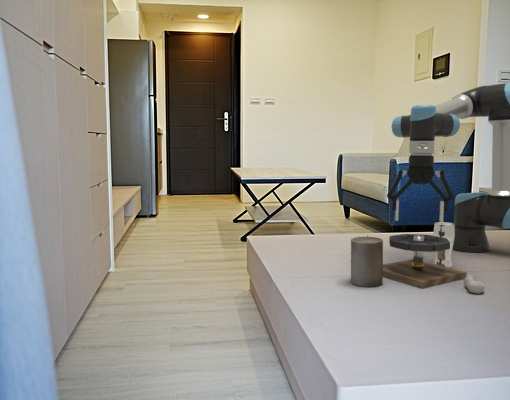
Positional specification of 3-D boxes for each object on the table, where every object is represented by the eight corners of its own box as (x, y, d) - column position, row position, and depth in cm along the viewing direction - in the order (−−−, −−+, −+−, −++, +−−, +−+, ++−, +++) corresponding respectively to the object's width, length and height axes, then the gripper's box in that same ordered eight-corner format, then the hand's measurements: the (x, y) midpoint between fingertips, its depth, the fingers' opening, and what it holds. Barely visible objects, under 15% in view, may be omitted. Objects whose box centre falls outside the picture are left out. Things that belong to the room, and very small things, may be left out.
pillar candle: (383, 279, 150) (384, 233, 148) (381, 288, 140) (381, 238, 139) (352, 277, 153) (352, 231, 151) (348, 286, 144) (348, 237, 142)
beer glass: (455, 268, 163) (457, 225, 161) (434, 267, 164) (435, 224, 163) (451, 263, 170) (453, 222, 168) (430, 262, 171) (432, 221, 170)
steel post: (417, 267, 157) (418, 234, 156) (426, 269, 154) (427, 236, 152) (409, 269, 155) (410, 235, 154) (418, 271, 152) (419, 237, 150)
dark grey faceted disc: (415, 237, 166) (415, 232, 165) (460, 247, 150) (460, 240, 150) (378, 243, 156) (378, 237, 156) (422, 254, 141) (422, 247, 141)
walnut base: (413, 264, 169) (413, 258, 169) (466, 278, 151) (466, 272, 151) (370, 272, 158) (370, 267, 158) (422, 288, 140) (422, 282, 140)
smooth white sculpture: (484, 299, 134) (466, 293, 135) (477, 290, 142) (460, 284, 142) (490, 285, 133) (471, 279, 134) (482, 277, 141) (465, 271, 142)
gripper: (381, 154, 149) (379, 221, 152) (466, 155, 143) (462, 224, 146) (380, 154, 157) (378, 217, 159) (461, 154, 151) (458, 220, 153)
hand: (418, 221), depth 152 cm, fingers open, 13 cm apart
